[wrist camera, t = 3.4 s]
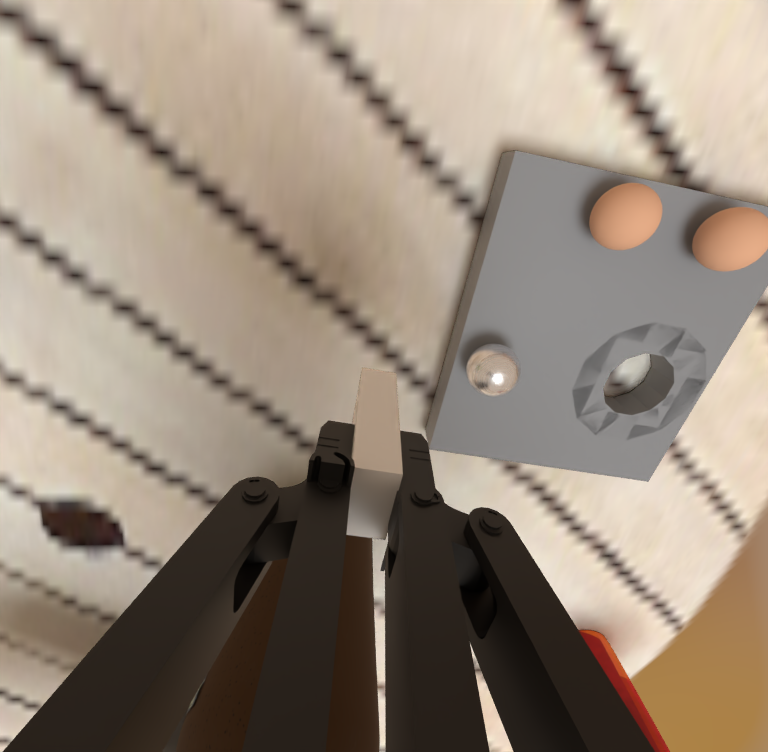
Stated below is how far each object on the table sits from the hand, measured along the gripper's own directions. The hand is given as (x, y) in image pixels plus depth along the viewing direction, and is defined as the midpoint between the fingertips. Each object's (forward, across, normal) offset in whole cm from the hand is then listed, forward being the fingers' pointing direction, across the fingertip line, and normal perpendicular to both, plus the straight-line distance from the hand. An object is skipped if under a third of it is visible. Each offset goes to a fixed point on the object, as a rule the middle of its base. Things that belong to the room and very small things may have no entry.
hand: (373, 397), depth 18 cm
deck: (+11, -14, -2) cm, 17 cm away
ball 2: (+7, -11, -9) cm, 16 cm away
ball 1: (+6, -7, 0) cm, 10 cm away
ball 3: (+7, -17, -9) cm, 21 cm away
